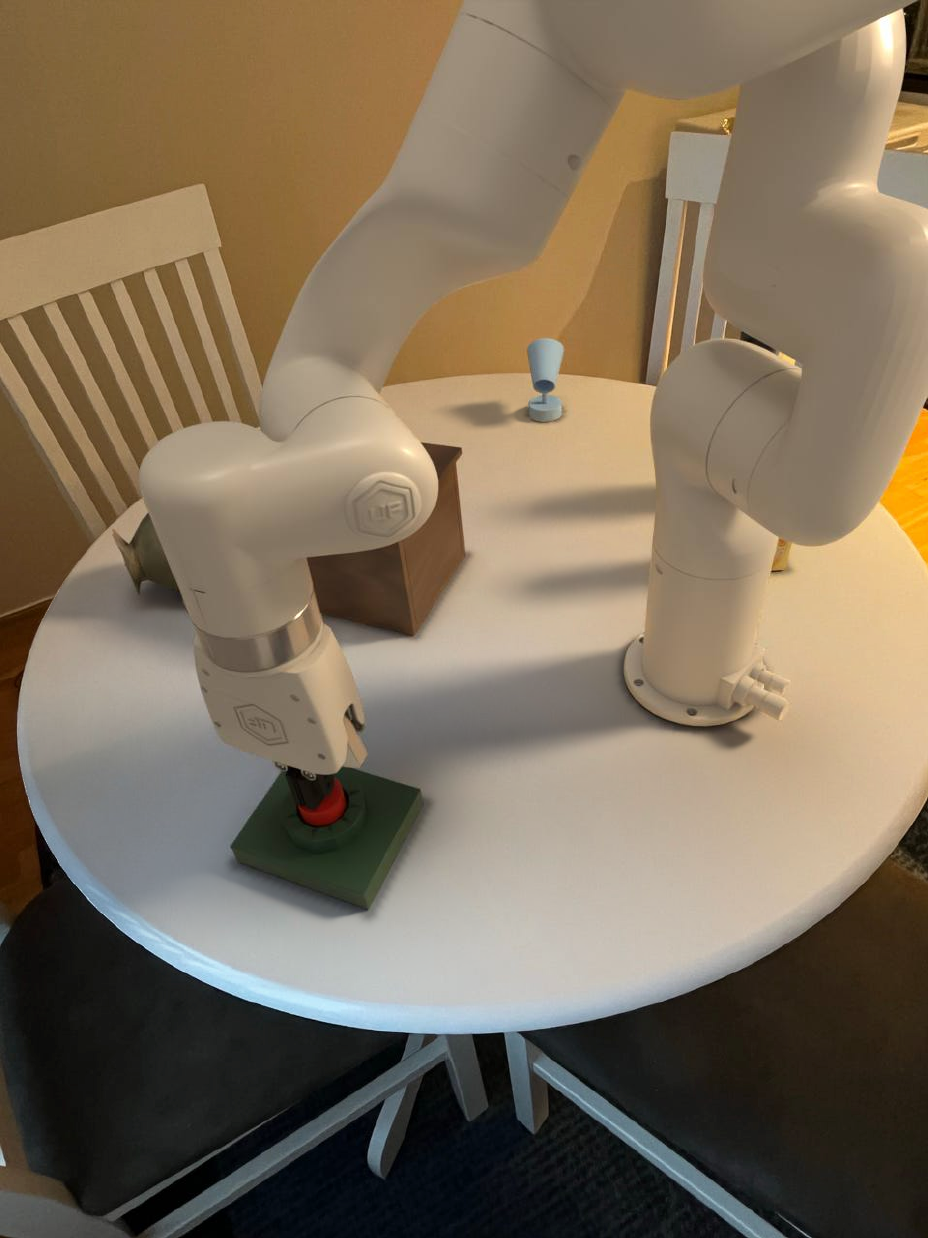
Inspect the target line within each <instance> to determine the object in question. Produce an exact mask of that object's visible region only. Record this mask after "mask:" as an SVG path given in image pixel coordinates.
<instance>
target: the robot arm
mask: <svg viewBox="0 0 928 1238" xmlns="http://www.w3.org/2000/svg"><path fill="white" fill-rule="evenodd" d="M917 1H918V0H463V1H462V4H461V6H460V8H459V10H458V13H457V15H456V18H455V21H454V23H453V25H452V28H451V30H450V33H449V35H448V37H447V40H446V42H445V44H444V47H443V49H442V51H441V54H440V56H439V59H438V61H437V62H436V66H435V68H434V70H433V74H432V75H431V78H430V79H429V82H428V84H427V86H426V89H425V92H424V94H423V96H422V99H421V100H420V101H421V102H420V104H419V106H418V108H417V109H416V112H415V113H414V116H413V118H412V120H411V123H410V125H409V128H408V131H407V133H406V135H405V138H404V140H403V142H402V145H401V147H400V149H399V151H398V153H397V156H396V158H395V160H394V162H393V164H392V166H391V168H390V170H389V172H388V173H387V175H386V178H385V179H384V181H383V182H382V183H381V185H380V187H379V188H377V190H376V191H375V192H374V193H373V194H372V195H370V197H369V198H368V199H366V201H365V202H364V203H363V204H362V205H361V207H359V209H357V211H356V212H355V214H354V215H353V216H352V217H351V219H350V220H349V221H348V223H347V224H346V225H345V226H344V227H343V229H342V231H340V233H339V234H338V235H337V236H336V238H335V239H333V241H332V242H331V244H330V245H329V246H328V247H327V248H326V249H325V250H324V252H323V253H322V254H321V256H320V258H319V259H318V260H317V262H316V263H315V264H314V266H313V267H312V269H311V271H310V272H309V274H308V275H307V277H306V279H305V281H304V283H303V284H302V287H301V288H300V290H299V291H298V295H297V296H296V298H295V301H294V303H293V305H292V307H291V309H290V311H289V315H288V317H287V319H286V322H285V325H284V326H283V329H282V331H281V334H280V336H279V339H278V342H277V344H276V347H275V349H274V352H273V354H272V357H271V359H270V362H269V364H268V367H267V370H266V372H265V375H264V379H263V383H262V386H261V391H260V396H259V406H258V421H259V429H258V428H256V427H255V426H253V425H249V424H246V423H243V422H239V421H233V420H232V421H231V420H230V421H229V420H217V421H214V420H213V421H208V422H201V423H197V424H193V425H190V426H186V427H183V428H180V429H177V430H175V431H174V432H172V433H169V434H168V435H166V436H164V437H163V438H161V439H160V440H158V441H157V442H156V443H155V444H154V445H153V446H152V447H151V448H150V449H149V450H148V451H147V453H146V454H145V455H144V457H143V459H142V461H141V464H140V467H139V472H138V487H139V491H140V494H141V497H142V500H143V503H144V506H145V508H146V510H147V513H149V515H150V518H151V520H152V523H153V525H154V528H155V530H156V533H157V535H158V538H159V540H160V543H161V545H162V548H163V550H164V553H165V555H166V558H167V560H168V563H169V565H170V568H171V570H172V573H173V575H174V578H175V580H176V583H177V585H178V587H179V590H180V592H179V593H180V595H181V599H182V603H183V605H184V606H185V607H186V610H187V612H188V615H189V616H190V620H191V622H192V625H193V628H194V630H195V634H194V638H193V654H194V656H193V657H194V663H195V664H194V665H195V670H196V675H197V680H198V683H199V687H200V691H201V694H202V698H203V701H204V704H205V706H206V710H207V713H208V715H209V718H210V721H211V723H212V726H213V729H214V730H215V732H216V734H217V735H218V737H219V739H220V740H221V741H222V742H223V743H225V744H226V745H228V746H230V747H232V748H234V749H237V750H239V751H241V752H245V753H248V754H250V755H254V756H257V757H260V758H263V759H267V760H269V761H271V762H272V764H273V765H274V767H275V768H276V769H278V770H279V771H280V772H281V771H284V772H286V775H285V776H286V779H287V782H288V785H289V788H290V790H291V793H292V796H293V799H294V801H295V804H296V805H298V806H301V807H303V806H307V808H308V809H310V810H313V811H315V810H316V809H317V808H318V806H319V805H320V803H321V802H322V800H323V798H327V797H328V796H329V795H330V793H331V792H332V790H333V788H334V784H335V780H334V775H333V774H335V773H337V772H338V771H339V770H340V768H341V767H347V768H353V769H357V770H360V769H361V766H362V765H363V764H364V762H365V760H366V759H367V757H368V756H369V752H368V750H367V749H366V747H365V745H364V743H363V741H362V739H361V738H360V735H359V734H358V733H363V732H364V731H365V730H366V721H365V713H364V709H363V704H362V701H361V698H360V693H359V691H358V686H357V684H356V681H355V678H354V675H353V673H352V670H351V668H350V665H349V663H348V660H347V658H346V656H345V653H344V652H343V650H342V647H341V645H340V644H339V641H338V639H337V638H336V636H335V634H334V632H333V630H332V629H331V627H330V626H329V625H327V624H326V623H324V622H323V617H322V614H321V613H320V610H319V606H318V602H317V598H316V594H315V590H314V586H313V581H312V578H311V574H310V570H309V566H308V562H307V558H306V557H315V556H324V555H333V554H344V553H353V552H360V551H367V550H373V549H377V548H381V547H385V546H389V545H391V544H394V543H396V542H398V541H401V540H403V539H405V538H407V537H408V536H410V535H411V534H413V533H414V532H415V531H417V530H418V529H419V528H420V527H421V526H422V525H423V524H424V523H425V522H426V521H427V519H428V518H429V517H430V515H431V513H432V511H433V509H434V507H435V504H436V501H437V496H438V478H437V472H436V470H435V467H434V464H433V461H432V460H431V458H430V456H429V454H428V453H427V451H426V449H425V448H424V447H423V445H422V444H421V443H420V442H421V441H420V440H419V439H418V438H417V436H416V435H415V434H414V433H413V432H412V431H411V430H410V428H409V427H408V426H407V425H406V424H405V423H404V422H403V421H402V419H401V418H400V417H399V415H397V413H396V412H395V411H394V410H393V409H392V407H391V406H390V405H389V404H388V402H387V401H385V399H384V398H383V397H382V396H381V392H382V390H383V388H384V385H385V382H386V381H387V379H388V376H389V374H390V372H391V369H392V367H393V366H394V363H395V362H396V360H397V357H398V355H399V353H400V351H401V350H402V347H403V346H404V344H405V343H406V341H407V339H408V338H409V336H410V334H411V333H412V332H413V330H414V328H415V327H416V326H417V324H419V322H420V321H421V320H422V318H424V316H425V315H426V314H427V313H428V312H429V311H430V310H432V308H434V306H435V305H437V304H438V303H439V302H441V301H442V300H443V299H445V298H447V297H448V296H450V295H452V294H454V293H455V292H458V291H460V290H462V289H465V288H467V287H470V286H471V287H472V286H475V285H479V284H481V283H484V282H489V281H491V280H495V279H499V278H503V277H507V276H510V275H513V274H516V273H519V272H522V271H524V270H525V269H527V268H529V267H531V266H532V265H534V263H536V262H537V261H538V260H539V258H540V257H541V255H542V254H543V253H544V250H545V249H546V246H547V245H548V243H549V240H550V239H551V237H552V235H553V232H554V230H555V228H556V226H557V225H558V222H559V220H560V219H561V217H562V215H563V213H564V212H565V209H566V208H567V205H568V204H569V202H570V199H571V197H572V196H573V194H574V192H575V190H576V188H577V186H578V184H579V182H580V180H581V179H582V176H583V175H584V173H585V171H586V169H587V167H588V166H589V163H590V161H591V159H592V157H593V155H594V153H595V152H596V149H597V147H598V145H599V144H600V142H601V140H602V138H603V136H604V134H605V132H606V131H607V128H608V126H609V125H610V122H611V121H612V119H613V117H614V116H615V114H616V112H617V110H618V108H619V106H620V104H621V102H622V101H623V98H624V97H625V95H626V93H627V91H632V92H635V93H639V94H643V95H646V96H650V97H654V98H657V99H664V100H674V101H687V100H692V99H693V100H694V99H697V98H702V97H706V96H712V95H715V94H716V95H717V94H719V93H722V92H725V91H728V90H730V89H734V88H736V87H739V89H738V95H737V102H736V107H735V114H734V119H733V125H732V131H731V134H730V139H729V144H728V145H729V146H728V149H727V154H726V158H725V163H724V167H723V171H722V176H721V181H720V184H719V190H718V194H717V198H716V199H717V200H716V202H715V207H714V211H713V217H712V221H711V226H710V231H709V235H708V240H707V245H706V251H705V256H704V261H703V271H702V287H703V293H704V298H705V299H706V301H707V303H708V305H709V306H710V308H711V309H712V310H713V311H714V312H715V313H716V315H718V316H719V317H720V318H722V319H723V320H724V321H726V322H727V323H728V324H730V325H732V326H733V327H735V328H736V329H738V330H740V332H741V331H743V332H745V333H746V334H748V335H750V336H752V337H753V338H755V339H757V340H759V341H761V342H763V343H764V344H766V345H768V346H770V347H772V348H774V349H775V350H777V352H779V353H781V354H783V355H785V356H787V357H788V358H790V359H792V360H794V361H796V362H798V363H800V364H801V366H802V367H800V366H798V365H796V364H794V363H792V362H790V361H788V360H786V359H785V358H782V357H781V356H779V355H777V354H776V355H775V354H773V353H772V352H770V351H768V350H766V349H764V348H761V347H759V346H757V345H754V344H752V343H748V342H745V341H741V340H740V339H738V338H727V337H718V338H711V339H707V340H703V341H699V342H697V343H695V344H693V345H690V346H689V347H687V348H686V349H684V350H683V351H682V352H681V353H679V354H678V355H677V356H676V357H675V358H674V359H673V360H672V361H671V362H670V363H669V365H668V366H667V367H666V368H665V370H664V371H663V373H662V375H661V377H660V378H659V380H658V383H657V385H656V388H655V390H654V393H653V397H652V401H651V408H650V415H649V435H650V444H651V454H652V460H653V468H654V478H655V510H654V522H653V534H652V542H651V543H652V545H651V554H650V565H649V577H648V588H647V597H646V598H647V599H646V608H645V620H644V628H643V629H644V630H643V632H642V633H640V634H639V635H638V636H636V638H635V639H634V640H633V641H632V642H631V643H630V645H629V647H628V648H627V650H626V653H625V656H624V660H623V675H624V681H625V683H626V686H627V688H628V690H629V692H630V693H631V695H632V696H633V698H634V699H635V700H636V701H637V702H638V703H639V704H640V705H641V706H642V707H643V708H645V709H646V710H648V711H649V712H651V713H652V714H654V715H656V716H658V717H660V718H662V719H665V720H666V721H669V722H673V723H677V724H680V725H686V726H690V727H691V726H692V727H712V726H720V725H725V724H728V723H731V722H734V721H736V720H739V719H741V718H742V717H745V716H746V715H747V714H748V713H750V711H752V710H753V709H754V708H756V709H758V710H759V712H761V713H762V714H764V715H766V716H768V717H770V718H772V719H774V720H776V721H777V722H782V719H784V717H785V716H786V714H787V713H788V710H789V709H790V706H791V700H788V699H786V698H784V697H782V696H780V695H779V694H781V695H784V694H785V693H786V691H788V688H789V686H790V684H791V680H789V679H787V678H785V677H784V676H781V675H779V674H777V673H774V672H772V671H770V670H768V669H767V666H766V665H765V664H764V662H763V660H764V657H765V652H766V647H764V646H762V645H760V644H758V643H756V640H757V635H758V632H759V626H760V622H761V618H762V613H763V609H764V605H765V600H766V596H767V591H768V586H769V581H770V577H771V573H772V571H771V568H772V564H773V559H774V556H775V553H776V548H777V543H778V539H779V538H781V539H783V540H785V541H787V542H790V543H792V545H797V546H801V547H811V548H812V547H822V546H827V545H830V544H832V543H833V544H834V543H835V542H837V541H839V540H841V539H843V538H845V537H846V536H848V535H850V534H851V533H852V532H853V531H855V530H856V529H858V527H859V526H860V525H861V524H862V523H863V522H864V521H865V520H867V518H868V517H869V516H870V514H871V513H872V512H873V511H874V509H875V508H876V506H877V505H878V503H879V502H880V501H881V499H882V497H883V496H884V494H885V492H886V491H887V489H888V487H889V485H890V483H891V481H892V480H893V477H894V475H895V473H896V472H897V469H898V466H899V465H900V462H901V459H902V458H903V455H904V453H905V451H906V448H907V446H908V443H909V441H910V439H911V437H912V434H913V433H914V430H915V427H916V425H917V422H918V420H919V418H920V416H921V414H922V411H923V409H924V407H925V405H926V404H925V403H926V402H927V400H928V208H927V207H925V206H922V205H919V204H916V203H913V202H910V201H907V200H903V199H901V198H897V197H893V196H891V195H887V194H884V193H882V192H880V190H879V188H878V178H879V174H880V169H881V164H882V160H883V156H884V153H885V148H886V146H887V141H888V138H889V135H890V130H891V127H892V123H893V120H894V116H895V111H896V108H897V105H898V103H899V97H900V93H901V90H902V86H903V81H904V75H905V66H906V57H907V56H906V55H907V34H906V33H907V32H906V22H905V13H904V8H906V7H908V6H910V5H912V4H914V3H915V2H917ZM765 686H766V687H768V688H769V689H771V690H774V691H775V692H777V693H779V694H777V693H775V692H772V691H768V690H766V689H765Z"/></svg>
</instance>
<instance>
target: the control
mask: <svg viewBox="0 0 928 1238" xmlns="http://www.w3.org/2000/svg"><path fill="white" fill-rule="evenodd" d="M285 775H286V772H284V771H281V770H280V773H279V774H278V776H277V777H276V778H275V780H274V781H273V783H272V784H271V786H270V787H269V789H268V790H267V791H266V793H265V795H264V796H263V798H262V799H261V801H260V802H259V803H258V805H257V806H256V807H255V809H254V810H253V812H252V813H251V815H250V816H249V818H248V819H247V821H246V822H245V824H244V825H243V827H242V828H241V829H240V831H239V832H238V834H237V835H236V837H235V839H233V841H232V843H231V844H230V846H229V848H230V850H231V852H232V854H233V856H234V858H235V860H236V862H238V863H240V864H243V865H245V866H246V865H247V866H249V867H250V868H253V869H257V870H260V871H262V872H264V873H268V874H271V875H273V876H276V877H279V878H282V879H284V880H287V881H289V882H292V883H295V884H297V885H299V886H303V887H306V888H308V889H310V890H314V891H316V892H319V893H322V894H324V895H327V896H330V897H333V898H336V899H339V900H341V901H344V902H346V903H349V904H351V905H354V906H358V907H360V908H363V909H366V910H369V909H370V908H371V907H372V904H373V902H374V901H375V899H376V897H377V895H378V893H379V891H380V890H381V887H382V885H383V883H384V882H385V879H386V878H387V875H388V874H389V872H390V870H391V868H392V866H393V864H394V862H395V860H396V858H397V856H398V855H399V853H400V851H401V849H402V848H403V845H404V843H405V841H406V840H407V837H408V836H409V833H410V832H411V830H412V828H413V826H414V825H415V822H416V820H417V819H418V817H419V815H420V812H421V811H422V809H423V807H424V799H423V792H422V789H421V788H418V787H415V786H413V785H408V784H405V783H402V782H399V781H397V780H393V779H389V778H387V777H383V776H379V775H376V774H373V773H369V772H366V771H363V770H360V769H354V768H347V767H341V768H340V770H339V771H338V772H337V773H335V774H333V775H334V778H336V779H337V780H338V781H339V782H340V784H341V786H342V789H343V792H344V796H345V799H346V808H345V811H344V813H343V814H342V816H341V817H340V818H339V819H338V820H337V821H335V822H333V823H332V824H329V825H326V826H313V825H310V824H309V823H307V822H306V821H305V820H304V819H303V818H302V815H301V813H300V810H299V807H298V805H296V804H295V801H294V799H293V796H292V793H291V790H290V788H289V785H288V782H287V779H286V776H285Z"/></svg>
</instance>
